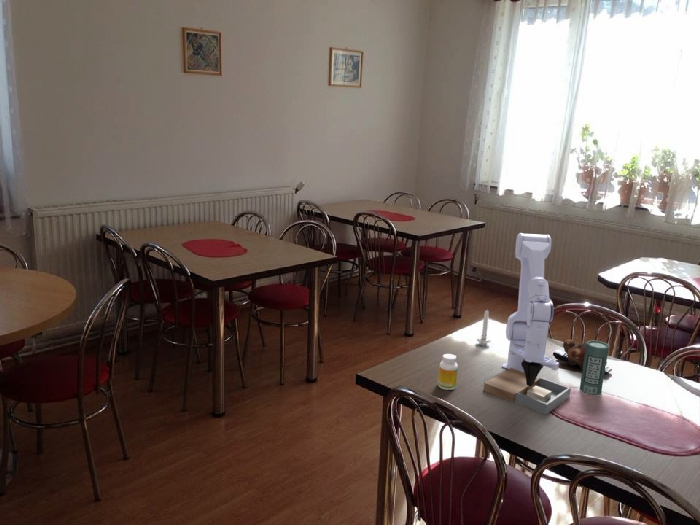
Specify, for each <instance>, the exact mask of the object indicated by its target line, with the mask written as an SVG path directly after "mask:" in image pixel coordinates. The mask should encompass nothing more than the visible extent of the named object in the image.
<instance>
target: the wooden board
mask: <svg viewBox="0 0 700 525" xmlns="http://www.w3.org/2000/svg"><path fill="white" fill-rule="evenodd" d="M539 378H540V377H539V376H537V377H536V380H535V382H534V385H532V386H528V385H527V384H526V377H525V373H524V372H522V371H519V370H516V369H514V368H510V369H506V370H505V371H502V372H500V373H498V374H497V375H496V376H494V377H491V378H490V379H489V380H487V381H484V384H483V391H484V392H486V393H488V394H492V395H493V396H497V397H499V398H502V399H504V400H506V401H509V402H511V403H516V402H515V395H516V392H518V393H521V394H523V395H525V394H526V393H527V391H528V390H529V389H531V388H533V387H534V386H538V385H539Z"/></svg>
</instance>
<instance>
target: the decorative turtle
mask: <svg viewBox="0 0 700 525" xmlns="http://www.w3.org/2000/svg"><path fill="white" fill-rule="evenodd" d="M586 345H587V343H586V342H585V343H584V342H581V343H578V344H576V342H575V341H574V340H572V339H565V340H564V341H563V343H562V347H563V350H564V352H565V353H566V354H567V359H568V360H567V361H568V364H569V365H570V366H571V367H574V365H575V366H576V365H578V366H579V369H580V370H583V364H584V358H585V352H586ZM607 363H608V362H607V361H606V365H607Z"/></svg>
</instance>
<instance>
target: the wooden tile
mask: <svg viewBox="0 0 700 525" xmlns="http://www.w3.org/2000/svg"><path fill="white" fill-rule="evenodd" d="M551 392H552V391H549V390H546V389H544V388H541V387H538V386H534V387H533V388H531V389H529V390H528V391H527V396H529V397H531V398H534V399H536V400H539V401H542V402H545V401H547V400H548V399H550V398H551Z"/></svg>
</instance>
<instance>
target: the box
mask: <svg viewBox="0 0 700 525" xmlns="http://www.w3.org/2000/svg"><path fill="white" fill-rule="evenodd" d="M538 387H541V388H544V389H546V390H549V391H552V392H551V398H550V399H548V400H547V401H545V402H542V401H539V400H536V399H534V398H531V397H529V396H527V393H526V394H525V395H523V394H521V393H518V392H516V395H515V402H514V403H516V404H519V405H521V406H524V407H525V408H529V409H531V410H533V411H535V412H538V413H541V414H544V415H548V414H549V413H550V412H552V409H553V410H554V409H556V408H558V406H560V405H561V404H563V403H564V402H566V400H568V399H569V398H570V396H571V395H570V394H571V390H572V388H571V387H569V386H567V385H564V384H561V383H559V382H555V381H552V380H549V379H547V378H544V377H542V376H540V377H539V385H538Z"/></svg>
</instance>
